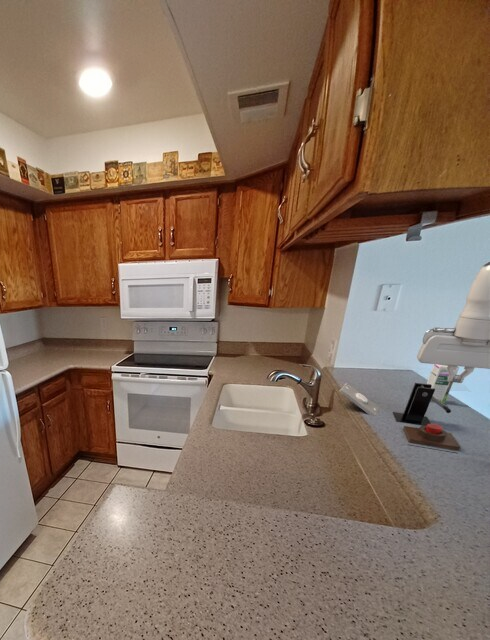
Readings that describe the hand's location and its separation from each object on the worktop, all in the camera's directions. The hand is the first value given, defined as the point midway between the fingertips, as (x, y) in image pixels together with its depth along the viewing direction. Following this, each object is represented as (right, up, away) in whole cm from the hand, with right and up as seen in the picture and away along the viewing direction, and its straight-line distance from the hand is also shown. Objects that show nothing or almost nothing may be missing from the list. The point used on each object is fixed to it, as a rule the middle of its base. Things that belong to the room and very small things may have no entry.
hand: (454, 381), depth 89 cm
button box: (0, -17, +9) cm, 19 cm away
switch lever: (+6, -4, +16) cm, 18 cm away
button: (0, -14, +7) cm, 15 cm away
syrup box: (+23, -2, +36) cm, 43 cm away
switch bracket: (+4, -10, +21) cm, 24 cm away
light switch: (-9, -6, +30) cm, 32 cm away
